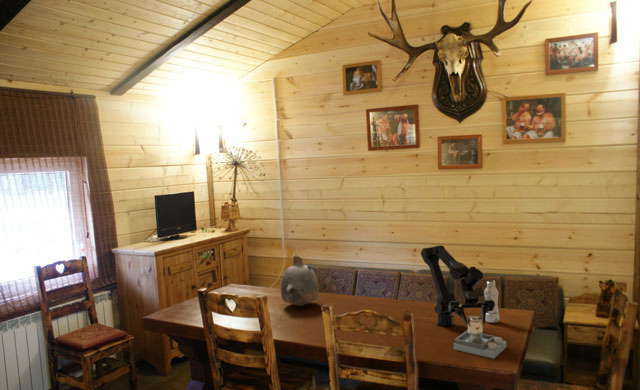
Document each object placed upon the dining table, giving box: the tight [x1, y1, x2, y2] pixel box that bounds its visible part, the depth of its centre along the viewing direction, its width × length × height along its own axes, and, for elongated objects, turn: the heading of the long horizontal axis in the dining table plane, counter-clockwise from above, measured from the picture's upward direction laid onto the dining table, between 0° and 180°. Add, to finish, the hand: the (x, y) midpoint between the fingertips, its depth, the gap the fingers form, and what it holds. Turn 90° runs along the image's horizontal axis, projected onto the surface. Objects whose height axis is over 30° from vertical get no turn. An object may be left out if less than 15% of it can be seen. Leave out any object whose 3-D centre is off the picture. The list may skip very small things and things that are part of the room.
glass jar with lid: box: [466, 315, 484, 343], centre depth 200 cm, size 8×6×10 cm
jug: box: [280, 253, 320, 307], centre depth 270 cm, size 24×21×30 cm
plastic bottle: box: [483, 280, 500, 324], centre depth 230 cm, size 6×7×20 cm
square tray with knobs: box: [453, 329, 507, 359], centre depth 201 cm, size 17×14×4 cm
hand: (475, 324), depth 200 cm, fingers open, 7 cm apart
